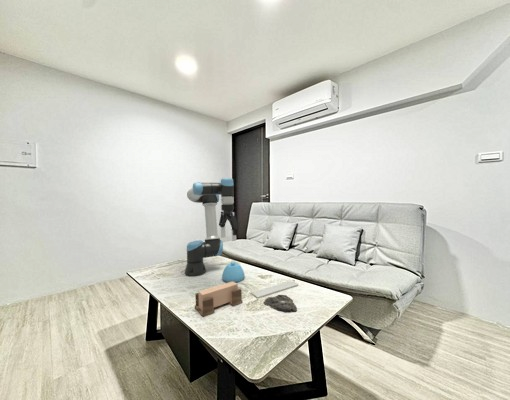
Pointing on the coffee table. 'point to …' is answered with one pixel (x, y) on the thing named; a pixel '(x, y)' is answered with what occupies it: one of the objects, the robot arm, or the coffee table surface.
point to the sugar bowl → (233, 273)
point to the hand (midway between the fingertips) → (228, 239)
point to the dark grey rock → (281, 303)
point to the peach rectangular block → (218, 294)
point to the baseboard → (273, 289)
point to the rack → (208, 303)
